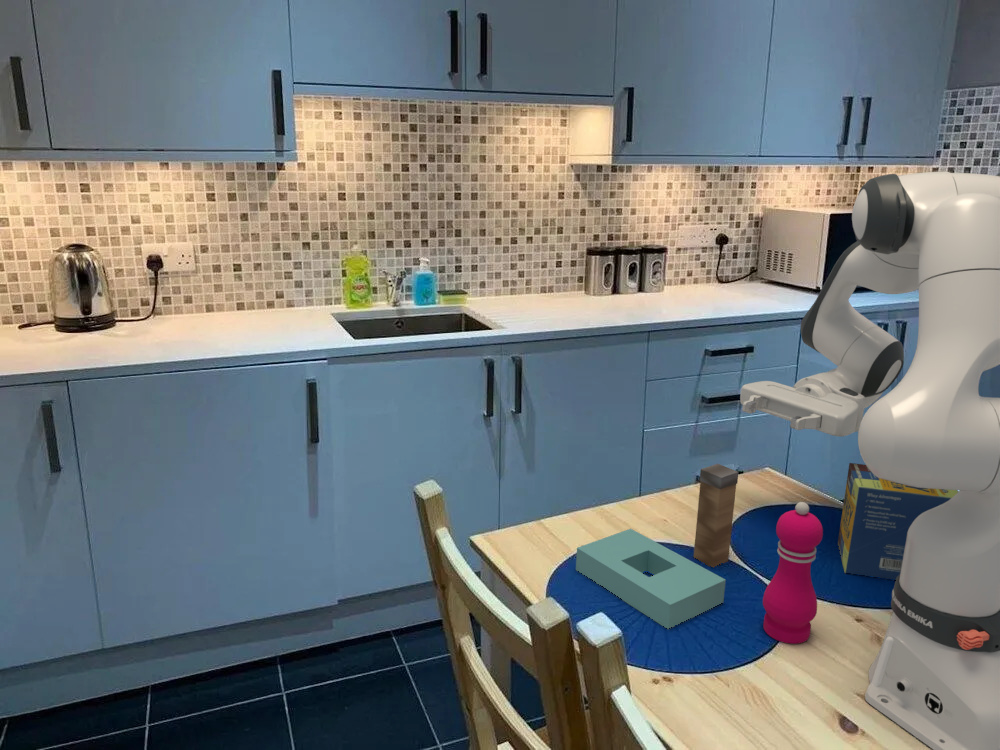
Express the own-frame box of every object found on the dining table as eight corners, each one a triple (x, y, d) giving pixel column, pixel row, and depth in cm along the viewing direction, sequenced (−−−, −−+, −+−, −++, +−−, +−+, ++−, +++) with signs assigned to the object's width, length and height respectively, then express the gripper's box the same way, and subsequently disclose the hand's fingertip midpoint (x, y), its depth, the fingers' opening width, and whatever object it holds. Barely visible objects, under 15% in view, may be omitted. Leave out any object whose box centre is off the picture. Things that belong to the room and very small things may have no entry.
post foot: (723, 603, 121) (725, 579, 120) (668, 629, 114) (670, 604, 113) (629, 549, 136) (630, 528, 135) (575, 570, 130) (576, 547, 129)
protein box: (836, 544, 139) (848, 461, 135) (933, 557, 136) (949, 472, 131) (843, 574, 130) (856, 486, 125) (948, 589, 126) (966, 498, 122)
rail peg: (729, 561, 133) (738, 471, 129) (712, 568, 131) (721, 477, 126) (709, 550, 137) (717, 463, 132) (692, 557, 134) (700, 469, 130)
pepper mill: (748, 623, 116) (763, 496, 110) (787, 612, 119) (804, 488, 113) (784, 651, 110) (801, 518, 104) (824, 639, 112) (843, 509, 107)
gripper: (769, 368, 149) (721, 382, 141) (874, 398, 133) (826, 415, 125) (765, 400, 151) (717, 415, 143) (868, 433, 135) (821, 453, 127)
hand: (769, 416), depth 134 cm, fingers open, 8 cm apart
